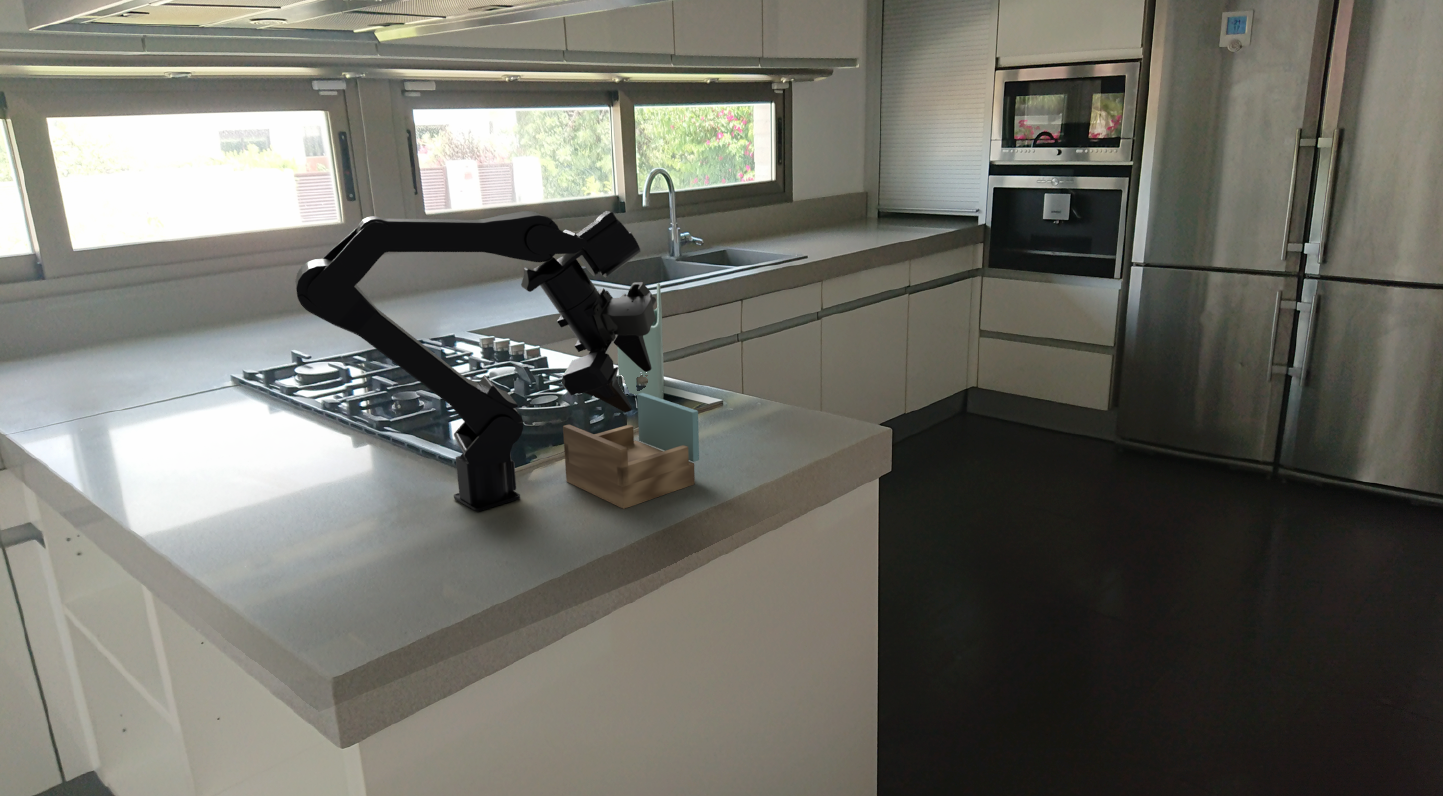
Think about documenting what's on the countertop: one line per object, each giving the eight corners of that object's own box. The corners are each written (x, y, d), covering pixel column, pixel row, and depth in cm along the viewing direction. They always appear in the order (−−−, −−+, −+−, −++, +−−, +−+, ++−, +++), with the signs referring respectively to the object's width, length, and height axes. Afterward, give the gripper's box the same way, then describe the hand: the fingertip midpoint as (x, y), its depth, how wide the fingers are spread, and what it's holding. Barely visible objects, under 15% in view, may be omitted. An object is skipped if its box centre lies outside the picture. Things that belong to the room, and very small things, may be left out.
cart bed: (623, 508, 121) (620, 449, 119) (566, 481, 130) (562, 426, 128) (694, 484, 129) (693, 428, 127) (636, 459, 138) (633, 407, 136)
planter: (621, 380, 179) (617, 276, 173) (663, 379, 179) (660, 275, 174) (616, 406, 163) (611, 292, 158) (663, 404, 164) (659, 291, 158)
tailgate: (693, 461, 129) (692, 412, 126) (639, 440, 137) (637, 394, 135) (703, 458, 130) (702, 409, 128) (648, 437, 138) (647, 391, 136)
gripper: (602, 318, 112) (669, 417, 119) (647, 242, 126) (705, 334, 133) (530, 346, 117) (599, 439, 124) (582, 270, 131) (640, 357, 138)
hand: (639, 390), depth 130 cm, fingers open, 9 cm apart
